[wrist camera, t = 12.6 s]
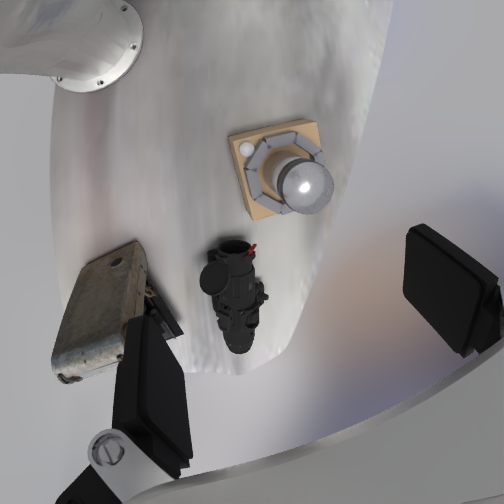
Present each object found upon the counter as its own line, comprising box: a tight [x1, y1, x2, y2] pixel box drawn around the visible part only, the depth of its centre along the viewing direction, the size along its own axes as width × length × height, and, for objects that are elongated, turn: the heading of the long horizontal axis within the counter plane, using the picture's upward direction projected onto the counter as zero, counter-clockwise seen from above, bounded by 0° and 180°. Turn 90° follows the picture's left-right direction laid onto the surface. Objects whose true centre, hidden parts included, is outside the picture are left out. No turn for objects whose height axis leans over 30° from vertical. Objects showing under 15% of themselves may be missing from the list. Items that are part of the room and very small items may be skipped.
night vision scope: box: [200, 240, 269, 354], centre depth 43 cm, size 8×18×10 cm
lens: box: [263, 150, 334, 214], centre depth 32 cm, size 5×5×8 cm
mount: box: [228, 119, 326, 221], centre depth 37 cm, size 10×10×6 cm
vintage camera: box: [51, 242, 184, 384], centre depth 35 cm, size 10×16×20 cm, turn 19°
